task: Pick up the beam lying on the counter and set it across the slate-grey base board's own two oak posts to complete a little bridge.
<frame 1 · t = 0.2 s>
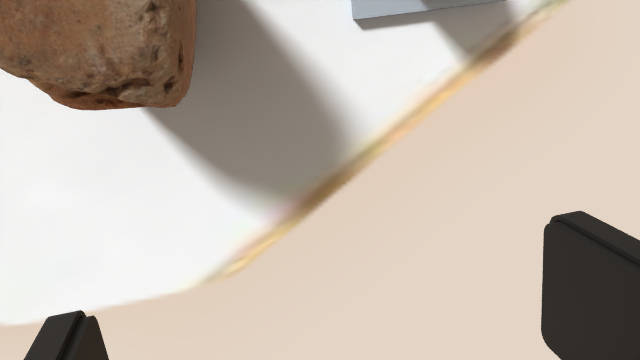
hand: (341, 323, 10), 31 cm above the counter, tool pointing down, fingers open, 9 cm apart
brown rounded tall lump: (143, 8, 36), on the counter
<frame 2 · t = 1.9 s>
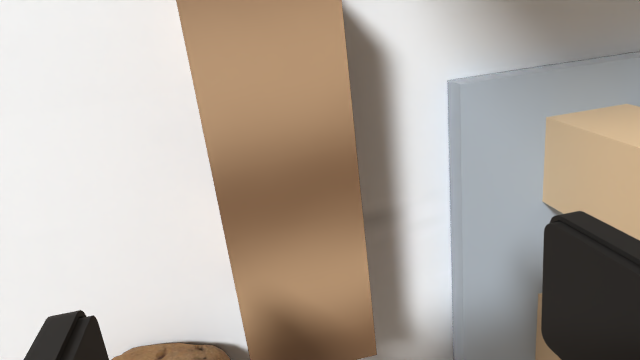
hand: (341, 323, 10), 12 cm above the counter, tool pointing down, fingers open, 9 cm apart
beam: (268, 142, 21), on the counter
base: (561, 231, 26), on the counter
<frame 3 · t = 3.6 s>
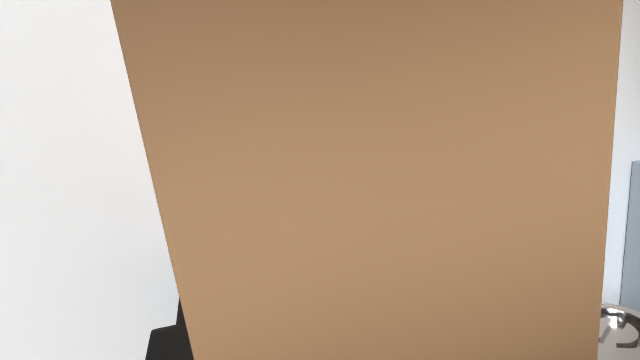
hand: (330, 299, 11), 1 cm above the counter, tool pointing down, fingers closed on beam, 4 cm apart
beam: (324, 285, 12), on the counter, touching gripper
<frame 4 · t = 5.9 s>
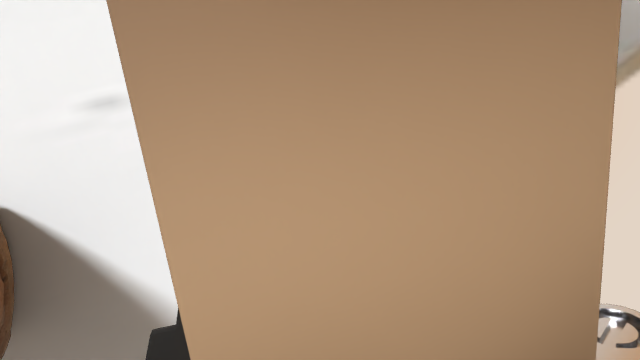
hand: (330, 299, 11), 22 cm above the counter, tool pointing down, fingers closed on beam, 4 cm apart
beam: (324, 289, 12), point 21 cm above the counter, touching gripper
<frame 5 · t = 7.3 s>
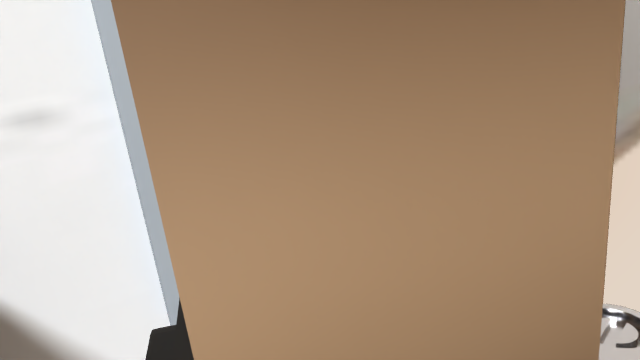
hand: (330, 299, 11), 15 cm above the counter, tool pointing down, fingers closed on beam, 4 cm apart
beam: (325, 290, 12), point 14 cm above the counter, touching gripper
base: (261, 141, 25), on the counter
when the fingers open (11 cm above the counter, at t = 8.3 s): beam drops 1 cm, resting on base.
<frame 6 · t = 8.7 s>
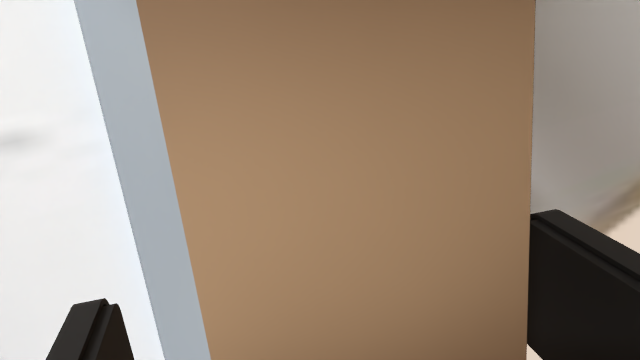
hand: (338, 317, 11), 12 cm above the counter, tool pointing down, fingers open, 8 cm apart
beam: (312, 260, 13), point 9 cm above the counter, touching base
base: (273, 165, 22), on the counter
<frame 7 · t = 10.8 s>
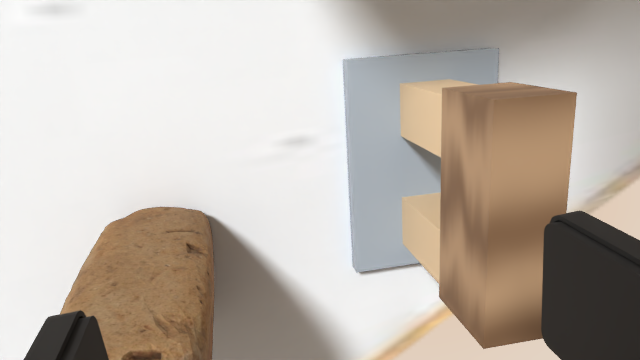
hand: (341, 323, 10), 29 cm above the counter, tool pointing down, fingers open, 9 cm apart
brown rounded tall lump: (164, 263, 40), on the counter
beam: (473, 194, 33), point 9 cm above the counter, touching base
base: (419, 160, 41), on the counter
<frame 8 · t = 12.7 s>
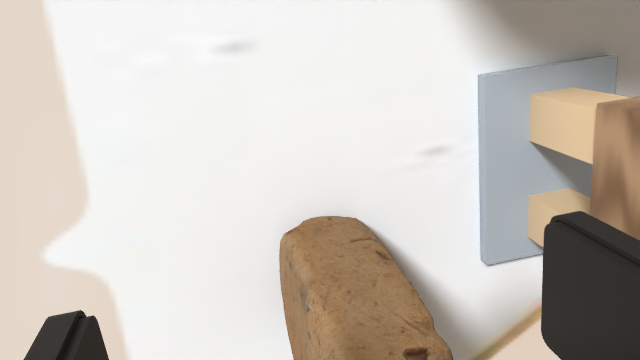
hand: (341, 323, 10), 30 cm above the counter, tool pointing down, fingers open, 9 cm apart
brown rounded tall lump: (319, 266, 44), on the counter
beam: (618, 194, 37), point 9 cm above the counter, touching base
base: (541, 161, 45), on the counter
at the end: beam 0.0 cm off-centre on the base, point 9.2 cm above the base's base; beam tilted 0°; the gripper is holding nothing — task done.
